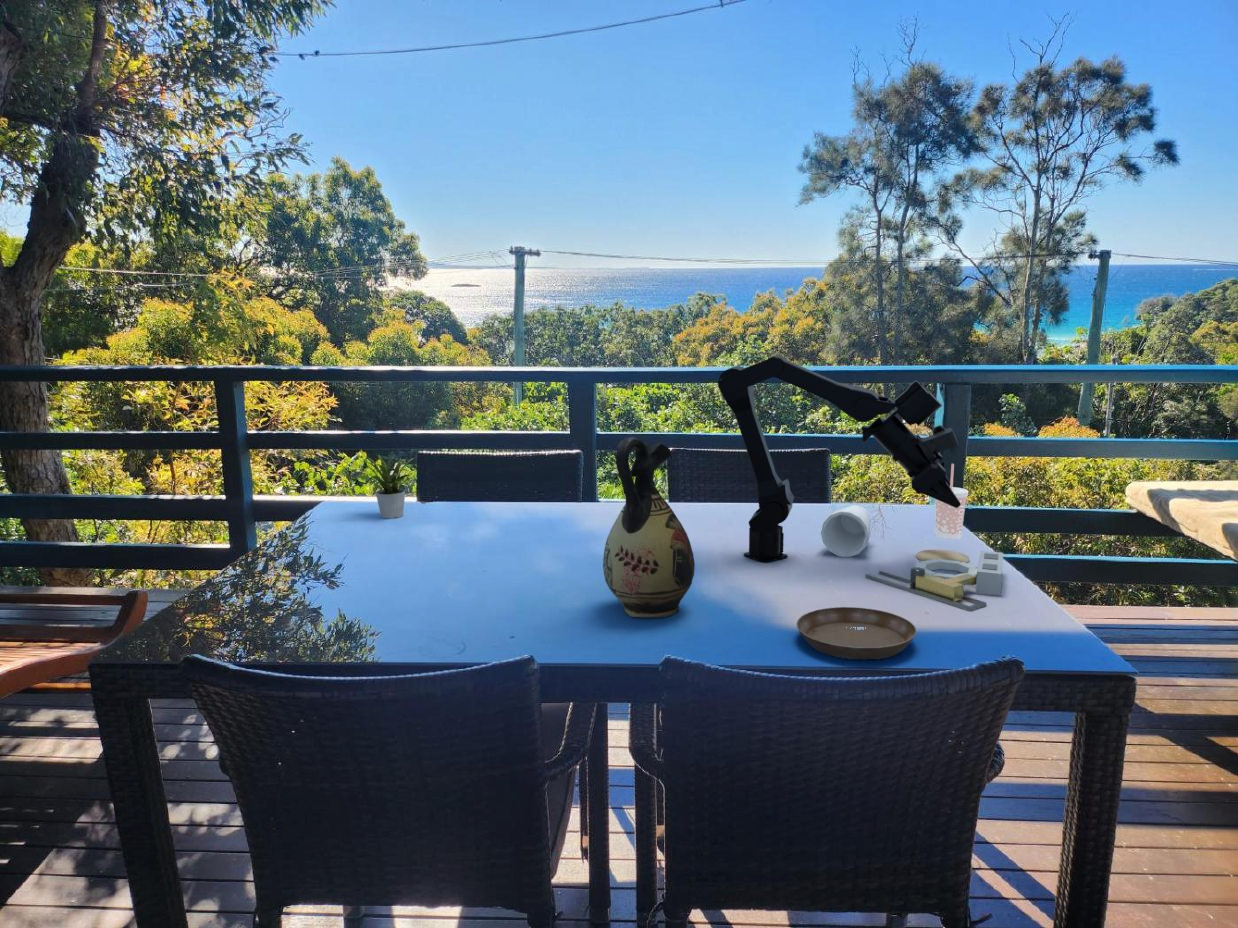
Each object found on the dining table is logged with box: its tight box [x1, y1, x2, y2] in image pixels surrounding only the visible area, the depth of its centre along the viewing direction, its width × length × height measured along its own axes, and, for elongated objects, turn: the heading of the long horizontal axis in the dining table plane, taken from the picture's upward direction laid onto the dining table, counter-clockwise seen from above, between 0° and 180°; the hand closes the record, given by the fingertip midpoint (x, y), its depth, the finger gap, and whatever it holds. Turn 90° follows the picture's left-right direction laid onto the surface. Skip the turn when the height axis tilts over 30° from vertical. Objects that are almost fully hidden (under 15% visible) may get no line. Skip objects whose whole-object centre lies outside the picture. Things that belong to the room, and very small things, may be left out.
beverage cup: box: [934, 463, 969, 540], centre depth 171 cm, size 6×6×14 cm
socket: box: [915, 550, 1004, 597], centre depth 167 cm, size 15×14×4 cm
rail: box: [864, 569, 987, 612], centre depth 161 cm, size 4×23×1 cm, turn 33°
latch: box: [909, 566, 977, 602], centre depth 160 cm, size 8×10×3 cm
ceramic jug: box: [602, 436, 696, 618], centre depth 151 cm, size 17×15×30 cm
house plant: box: [360, 452, 417, 519], centre depth 221 cm, size 14×14×16 cm
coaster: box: [915, 549, 970, 564], centre depth 181 cm, size 10×10×1 cm
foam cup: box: [820, 504, 871, 558], centre depth 188 cm, size 10×9×13 cm
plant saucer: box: [796, 606, 917, 660], centre depth 138 cm, size 18×18×3 cm
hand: (958, 502), depth 171 cm, fingers closed on beverage cup, 6 cm apart
